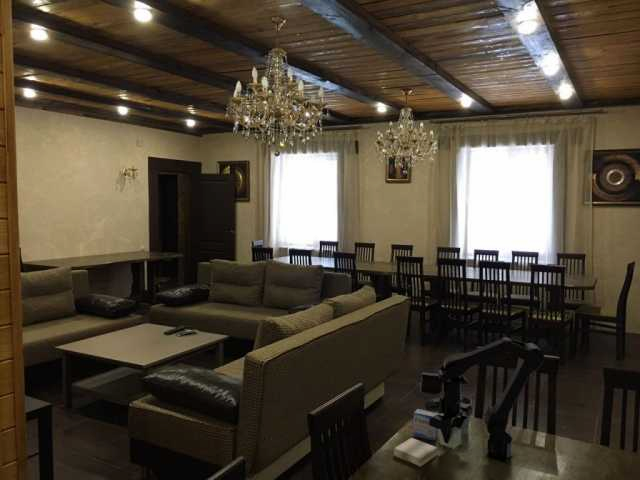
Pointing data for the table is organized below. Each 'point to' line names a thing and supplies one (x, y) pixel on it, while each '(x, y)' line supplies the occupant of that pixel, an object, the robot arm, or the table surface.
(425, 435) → the medicine box
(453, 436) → the green cube
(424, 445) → the birch block
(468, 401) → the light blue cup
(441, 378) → the robot arm
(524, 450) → the table surface
